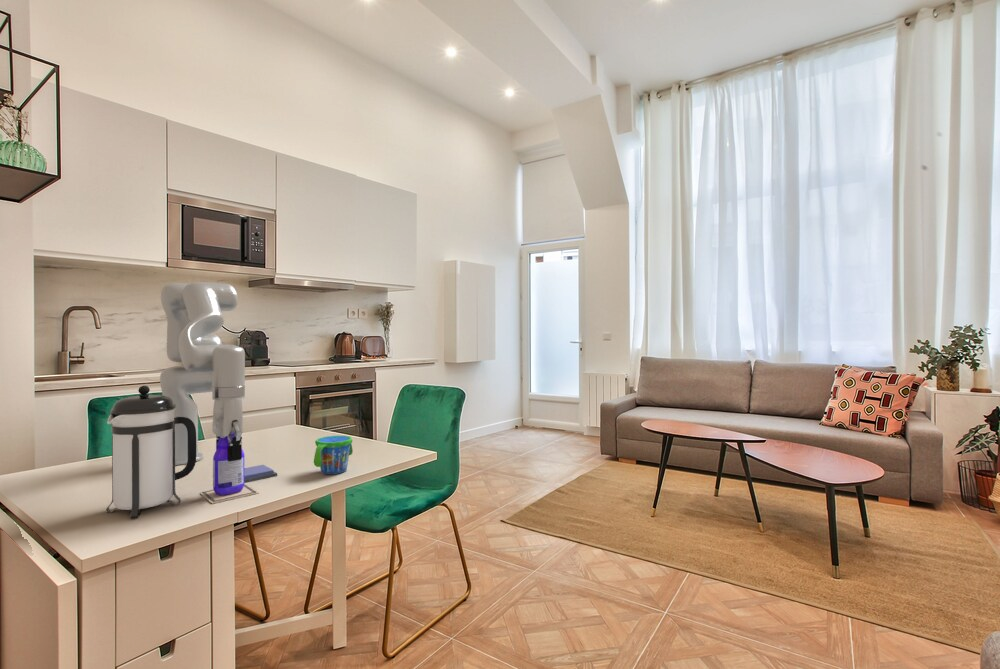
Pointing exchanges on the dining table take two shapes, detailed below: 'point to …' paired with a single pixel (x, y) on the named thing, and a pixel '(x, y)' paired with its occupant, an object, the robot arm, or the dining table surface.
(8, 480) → the dining table surface
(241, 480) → the bottle
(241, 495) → the marked card
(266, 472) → the ink pad
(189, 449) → the coffee press
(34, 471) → the dining table surface
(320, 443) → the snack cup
